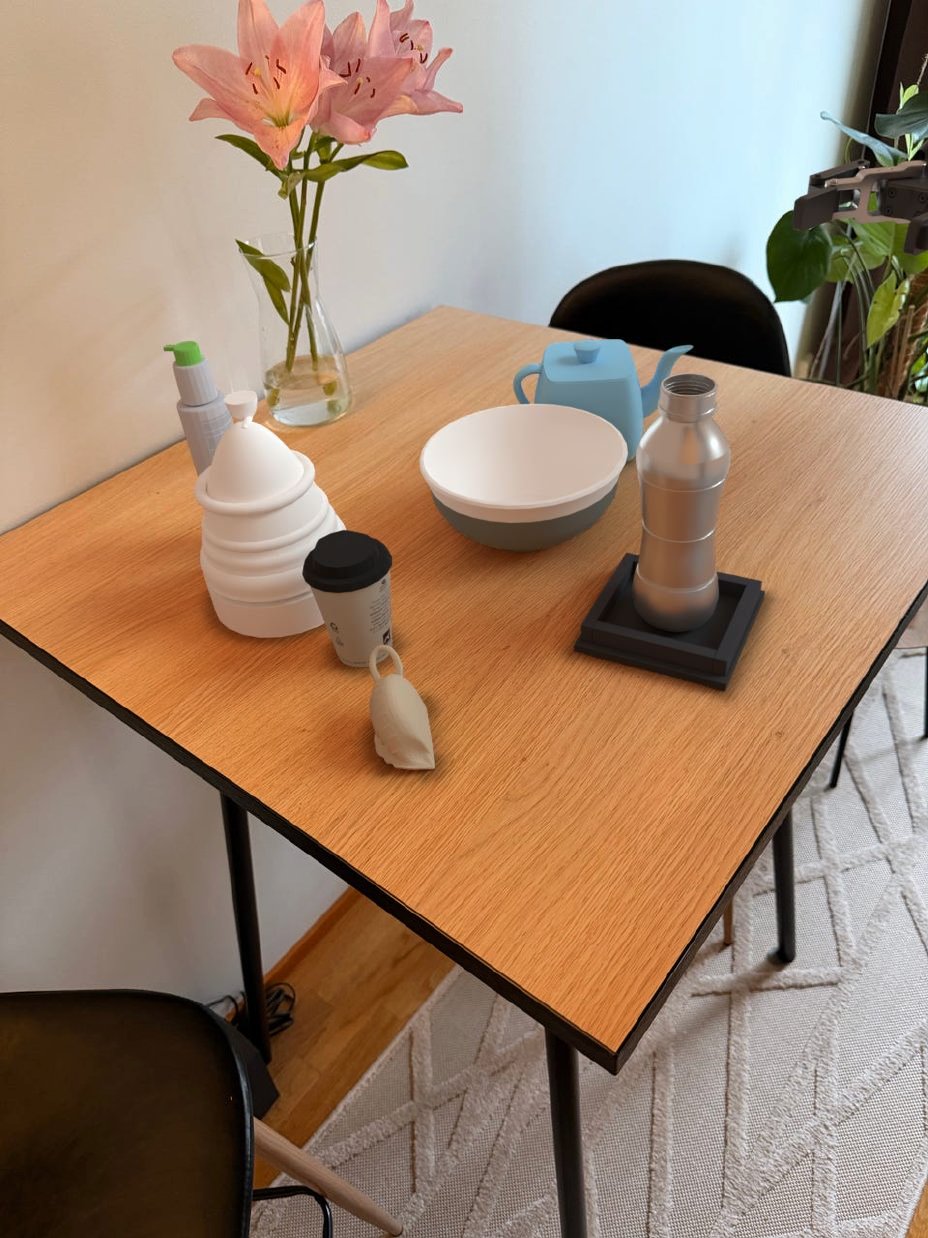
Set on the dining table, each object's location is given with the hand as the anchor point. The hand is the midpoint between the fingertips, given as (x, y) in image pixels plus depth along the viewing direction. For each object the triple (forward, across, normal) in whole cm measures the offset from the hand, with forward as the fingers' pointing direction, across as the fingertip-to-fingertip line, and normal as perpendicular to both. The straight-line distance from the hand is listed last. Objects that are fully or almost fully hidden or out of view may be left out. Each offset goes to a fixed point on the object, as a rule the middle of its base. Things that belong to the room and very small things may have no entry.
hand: (851, 226), depth 61 cm
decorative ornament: (+36, -6, +28) cm, 46 cm away
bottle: (+34, -38, +28) cm, 58 cm away
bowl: (+12, -21, +28) cm, 37 cm away
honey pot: (+34, -28, +28) cm, 53 cm away
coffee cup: (+34, -17, +28) cm, 47 cm away
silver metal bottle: (+13, -2, +27) cm, 30 cm away
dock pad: (+13, -2, +28) cm, 31 cm away
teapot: (-4, -27, +28) cm, 39 cm away
